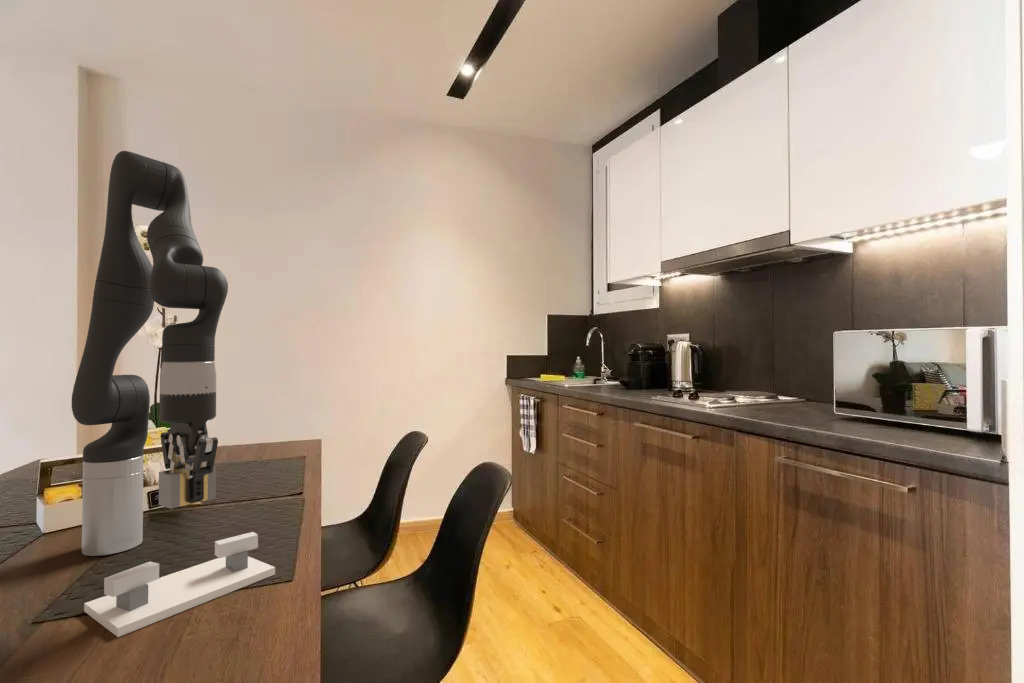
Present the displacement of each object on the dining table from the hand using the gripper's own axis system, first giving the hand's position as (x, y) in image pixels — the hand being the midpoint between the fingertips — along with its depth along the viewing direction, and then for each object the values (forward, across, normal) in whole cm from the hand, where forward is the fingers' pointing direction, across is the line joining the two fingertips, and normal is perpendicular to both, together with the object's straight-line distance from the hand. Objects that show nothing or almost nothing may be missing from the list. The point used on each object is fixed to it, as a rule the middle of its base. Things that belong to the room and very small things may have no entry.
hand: (187, 498), depth 79 cm
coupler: (0, 0, 0) cm, 0 cm away
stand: (+14, 0, 0) cm, 14 cm away
